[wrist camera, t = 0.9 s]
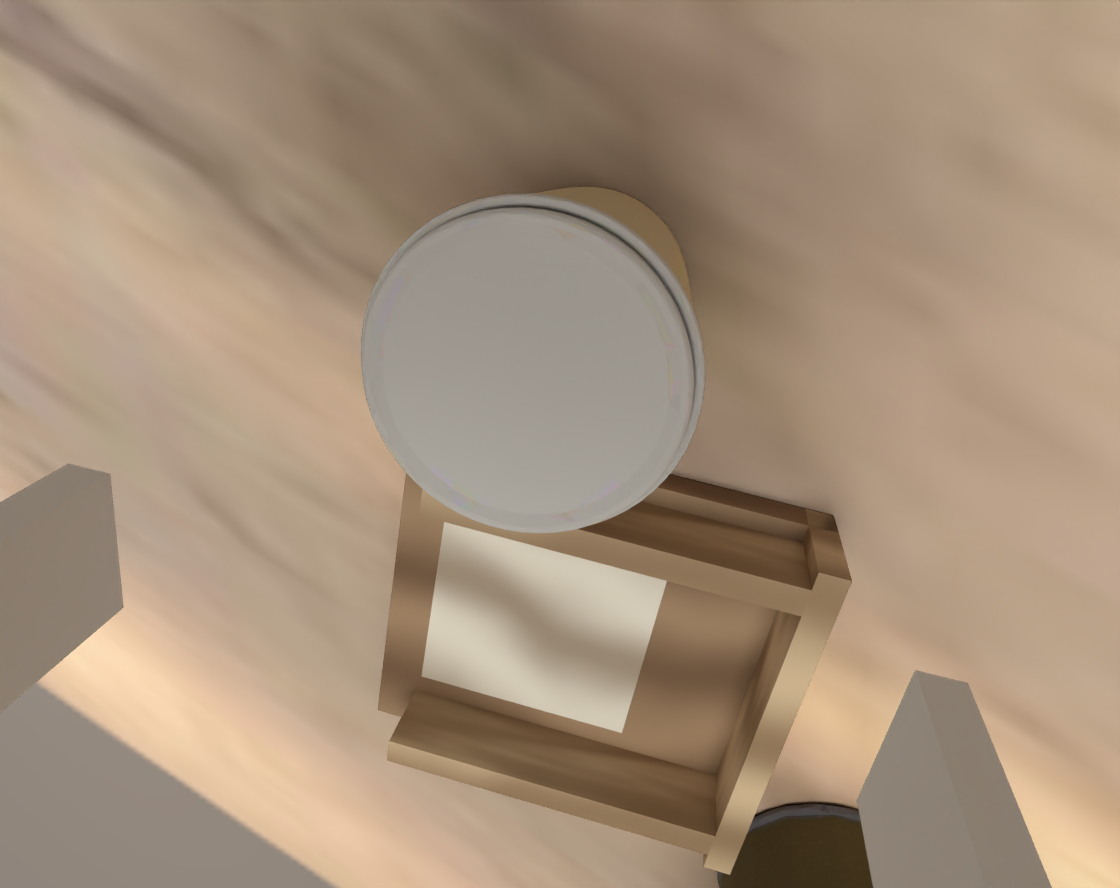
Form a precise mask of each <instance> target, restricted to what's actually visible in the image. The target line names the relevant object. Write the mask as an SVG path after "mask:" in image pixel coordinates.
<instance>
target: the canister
mask: <svg viewBox="0 0 1120 888" xmlns="http://www.w3.org/2000/svg"><path fill="white" fill-rule="evenodd" d="M718 883H719V887H720V888H873V884H872V879H871V873H870V868H869V863H868V857H867V852H866V846H865V841H864V836H863V830H862V825H861V819H860V814H859V811H857V810H854V809H852V808H845V807H837V806H830V805H823V804H815V803H812V804H803V805H793V806H785V807H780V808H776V809H773V810H770V811H768V812H765V813H763V814H761V815H759V816H757V817H755V818H753V820H752V823H751V825H750V828H749V830H748V832H747V835H746V837H745V840H744V842H743V844H742V847H741V849H740V852H739V854H738V856H737V859H736V861H735V864H734V866H733V868H732V871H731V873H730V875H729V874H725V873H722V872H719V871H718Z"/></svg>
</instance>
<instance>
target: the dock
mask: <svg viewBox="0 0 1120 888" xmlns="http://www.w3.org/2000/svg"><path fill="white" fill-rule="evenodd" d="M851 582H852V579H851V576H850V572H849V569H848V565H847V561H846V558H845V554H844V551H843V547H842V543H841V540H840V536H839V532H838V529H837V525H836V522H835V518H834V516H832V515H828V514H824V513H820V512H816V511H812V510H808V509H804V508H800V507H796V506H793V505H789V504H785V503H781V502H777V501H773V500H769V499H765V498H761V497H757V496H753V495H749V494H745V493H741V492H737V491H733V490H729V489H725V488H721V487H717V486H713V485H709V484H705V483H702V482H698V481H694V480H690V479H686V478H682V477H678V476H674V475H670V474H669V475H668V477H667V478H666V479H665V480H664V481H663V482H662V483H661V484H660V485H659V486H658V487H657V488H656V489H655V490H654V491H653V492H652V493H651V494H649V495H648V496H647V497H646V498H644V499H643V500H642V501H641V502H639V503H638V504H636V505H634V506H633V507H631V508H630V509H628V510H627V511H625V512H623V513H621V514H619V515H616V516H614V517H612V518H610V519H607V520H605V521H602V522H599V523H597V524H593V525H589V526H586V527H582V528H579V529H575V530H571V531H563V532H555V533H522V532H516V531H509V530H504V529H500V528H496V527H492V526H488V525H485V524H483V523H480V522H477V521H474V520H472V519H470V518H467V517H465V516H463V515H461V514H459V513H457V512H455V511H453V510H452V509H450V508H448V507H447V506H445V505H443V504H442V503H440V502H439V501H438V500H436V499H435V498H433V497H432V496H430V495H429V494H428V493H427V492H426V491H425V490H423V489H422V488H421V487H420V486H419V485H418V484H417V483H416V482H415V481H414V480H413V479H412V478H411V477H410V476H409V475H408V474H407V473H406V478H405V487H404V495H403V503H402V512H401V520H400V528H399V537H398V545H397V553H396V562H395V570H394V578H393V587H392V595H391V603H390V612H389V620H388V628H387V637H386V645H385V653H384V662H383V670H382V678H381V687H380V695H379V703H378V710H380V711H383V712H387V713H390V714H394V715H397V716H400V717H401V719H400V721H399V723H398V725H397V727H396V729H395V731H394V733H393V735H392V737H391V739H390V741H389V747H388V755H387V760H388V761H391V762H394V763H398V764H401V765H405V766H408V767H411V768H415V769H418V770H422V771H425V772H428V773H432V774H435V775H438V776H442V777H445V778H449V779H452V780H455V781H459V782H462V783H466V784H469V785H472V786H476V787H479V788H483V789H486V790H489V791H493V792H496V793H500V794H503V795H506V796H510V797H513V798H517V799H520V800H523V801H527V802H530V803H534V804H537V805H540V806H544V807H547V808H550V809H554V810H557V811H561V812H564V813H567V814H571V815H574V816H578V817H581V818H584V819H588V820H591V821H595V822H598V823H601V824H605V825H608V826H612V827H615V828H618V829H622V830H625V831H629V832H632V833H635V834H639V835H642V836H646V837H649V838H652V839H656V840H659V841H662V842H666V843H669V844H673V845H676V846H679V847H683V848H686V849H690V850H693V851H696V852H700V853H703V854H704V859H703V867H705V868H708V869H712V870H715V871H719V872H722V873H725V874H729V875H730V873H731V871H732V868H733V866H734V864H735V861H736V859H737V856H738V854H739V852H740V849H741V847H742V844H743V842H744V840H745V837H746V835H747V832H748V830H749V828H750V825H751V823H752V820H753V818H754V815H755V813H756V811H757V808H758V806H759V803H760V801H761V799H762V796H763V794H764V791H765V789H766V787H767V784H768V782H769V779H770V777H771V775H772V772H773V770H774V767H775V765H776V763H777V760H778V758H779V755H780V753H781V751H782V748H783V746H784V743H785V741H786V739H787V736H788V734H789V731H790V729H791V727H792V724H793V722H794V719H795V717H796V715H797V712H798V710H799V707H800V705H801V702H802V700H803V698H804V695H805V693H806V690H807V688H808V686H809V683H810V681H811V678H812V676H813V674H814V671H815V669H816V666H817V664H818V662H819V659H820V657H821V654H822V652H823V650H824V647H825V645H826V642H827V640H828V638H829V635H830V633H831V630H832V628H833V626H834V623H835V621H836V618H837V616H838V614H839V611H840V609H841V606H842V604H843V602H844V599H845V597H846V594H847V592H848V589H849V587H850V585H851Z"/></svg>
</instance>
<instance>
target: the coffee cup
mask: <svg viewBox="0 0 1120 888" xmlns="http://www.w3.org/2000/svg"><path fill="white" fill-rule="evenodd" d="M361 361H362V363H361V365H362V374H363V382H364V388H365V394H366V399H367V402H368V406H369V409H370V412H371V415H372V418H373V420H374V422H375V425H376V427H377V430H378V432H379V434H380V436H381V437H382V439H383V441H384V443H385V445H386V446H387V448H388V449H389V451H390V452H391V454H392V455H393V457H394V458H395V460H396V461H397V462H398V464H399V465H400V466H401V467H402V468H403V470H404V471H405V472H406V473H407V474H408V475H409V476H410V477H411V478H412V479H413V480H414V481H415V482H416V483H417V484H418V485H419V486H420V487H421V488H422V489H423V490H425V491H426V492H427V493H428V494H429V495H430V496H432V497H433V498H435V499H436V500H438V501H439V502H440V503H442V504H443V505H445V506H447V507H448V508H450V509H452V510H453V511H455V512H457V513H459V514H461V515H463V516H465V517H467V518H470V519H472V520H474V521H477V522H480V523H483V524H485V525H488V526H492V527H496V528H500V529H504V530H509V531H516V532H522V533H555V532H563V531H571V530H575V529H579V528H582V527H586V526H589V525H593V524H597V523H599V522H602V521H605V520H607V519H610V518H612V517H614V516H616V515H619V514H621V513H623V512H625V511H627V510H628V509H630V508H631V507H633V506H634V505H636V504H638V503H639V502H641V501H642V500H643V499H644V498H646V497H647V496H648V495H649V494H651V493H652V492H653V491H654V490H655V489H656V488H657V487H658V486H659V485H660V484H661V483H662V482H663V481H664V480H665V479H666V478H667V477H668V475H669V474H670V473H671V472H672V470H673V469H674V468H675V467H676V465H677V464H678V462H679V461H680V459H681V457H682V456H683V454H684V452H685V451H686V449H687V447H688V444H689V442H690V440H691V438H692V436H693V434H694V431H695V428H696V425H697V422H698V419H699V416H700V412H701V407H702V402H703V398H704V387H705V357H704V350H703V343H702V338H701V334H700V330H699V326H698V323H697V319H696V316H695V314H694V309H693V303H692V297H691V291H690V285H689V279H688V274H687V270H686V265H685V262H684V259H683V256H682V253H681V250H680V248H679V246H678V244H677V242H676V239H675V238H674V236H673V234H672V233H671V231H670V230H669V228H668V227H667V226H666V224H665V223H664V222H663V221H662V220H661V219H660V218H659V217H658V216H657V215H656V213H654V212H653V211H652V210H651V209H649V208H648V207H647V206H646V205H644V204H643V203H641V202H640V201H638V200H636V199H634V198H632V197H630V196H628V195H626V194H623V193H621V192H618V191H614V190H610V189H606V188H599V187H569V188H563V189H556V190H549V191H543V192H537V193H527V194H503V195H496V196H489V197H484V198H481V199H477V200H473V201H470V202H467V203H464V204H462V205H459V206H457V207H454V208H452V209H449V210H448V211H446V212H444V213H442V214H440V215H439V216H437V217H435V218H433V219H432V220H431V221H429V222H428V223H426V224H425V225H424V226H422V227H421V228H419V229H418V230H417V231H416V232H415V233H414V234H413V235H412V236H411V237H410V238H408V239H407V240H406V241H405V242H404V243H403V244H402V245H401V247H400V248H399V249H398V250H397V251H396V253H395V254H394V255H393V256H392V257H391V259H390V260H389V262H388V263H387V265H386V266H385V268H384V269H383V271H382V273H381V275H380V276H379V278H378V280H377V282H376V284H375V286H374V289H373V291H372V294H371V297H370V299H369V302H368V305H367V309H366V314H365V318H364V322H363V330H362V338H361Z"/></svg>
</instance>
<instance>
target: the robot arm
mask: <svg viewBox="0 0 1120 888" xmlns="http://www.w3.org/2000/svg"><path fill="white" fill-rule="evenodd" d="M122 608H123V597H122V587H121V577H120V567H119V557H118V547H117V537H116V527H115V517H114V507H113V497H112V486H111V476H110V474H109V473H105V472H101V471H97V470H93V469H89V468H84V467H80V466H76V465H72V464H67V465H65V466H63V467H62V468H60V469H58V470H56V471H54V472H53V473H51V474H49V475H47V476H46V477H44V478H42V479H40V480H39V481H37V482H35V483H33V484H32V485H30V486H28V487H26V488H24V489H23V490H21V491H19V492H17V493H16V494H14V495H12V496H10V497H9V498H7V499H5V500H3V501H2V502H0V713H1V712H2V711H3V710H4V709H6V708H7V707H8V706H9V705H10V704H11V703H12V702H14V701H15V700H16V699H17V698H18V697H20V696H21V695H22V694H23V693H24V692H25V691H27V690H28V689H29V688H30V687H31V686H32V685H34V684H35V683H36V682H37V681H38V680H39V679H41V678H42V677H43V676H44V675H45V674H46V673H48V672H49V671H50V670H51V669H52V668H53V667H55V666H56V665H57V664H58V663H59V662H60V661H62V660H63V659H64V658H65V657H66V656H67V655H69V654H70V653H71V652H72V651H73V650H74V649H76V648H77V647H78V646H79V645H80V644H81V643H83V642H84V641H85V640H86V639H87V638H88V637H90V636H91V635H92V634H93V633H94V632H95V631H97V630H98V629H99V628H100V627H101V626H102V625H104V624H105V623H106V622H107V621H108V620H109V619H111V618H112V617H113V616H114V615H115V614H116V613H118V612H119V611H120V610H121V609H122ZM857 803H858V809H859V814H860V819H861V825H862V830H863V836H864V841H865V846H866V852H867V857H868V863H869V868H870V873H871V879H872V884H873V888H1052V887H1051V885H1050V882H1049V880H1048V877H1047V875H1046V872H1045V870H1044V868H1043V865H1042V863H1041V860H1040V858H1039V855H1038V853H1037V851H1036V848H1035V846H1034V843H1033V841H1032V838H1031V836H1030V833H1029V831H1028V829H1027V826H1026V824H1025V821H1024V819H1023V816H1022V814H1021V811H1020V809H1019V807H1018V804H1017V802H1016V799H1015V797H1014V794H1013V792H1012V789H1011V787H1010V785H1009V782H1008V780H1007V777H1006V775H1005V772H1004V770H1003V767H1002V765H1001V763H1000V760H999V758H998V755H997V753H996V750H995V748H994V746H993V743H992V741H991V738H990V736H989V733H988V731H987V728H986V726H985V724H984V721H983V719H982V716H981V714H980V711H979V709H978V706H977V704H976V702H975V699H974V697H973V694H972V692H971V689H970V687H969V684H968V683H966V682H961V681H957V680H953V679H949V678H945V677H941V676H937V675H933V674H929V673H925V672H920V671H916V670H915V672H914V674H913V676H912V678H911V681H910V683H909V685H908V687H907V689H906V692H905V694H904V696H903V698H902V701H901V703H900V705H899V707H898V710H897V712H896V714H895V716H894V718H893V721H892V723H891V725H890V727H889V730H888V732H887V734H886V736H885V739H884V741H883V743H882V745H881V748H880V750H879V752H878V754H877V756H876V759H875V761H874V763H873V765H872V768H871V770H870V772H869V774H868V777H867V779H866V781H865V783H864V785H863V788H862V790H861V792H860V794H859V797H858V799H857Z"/></svg>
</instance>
